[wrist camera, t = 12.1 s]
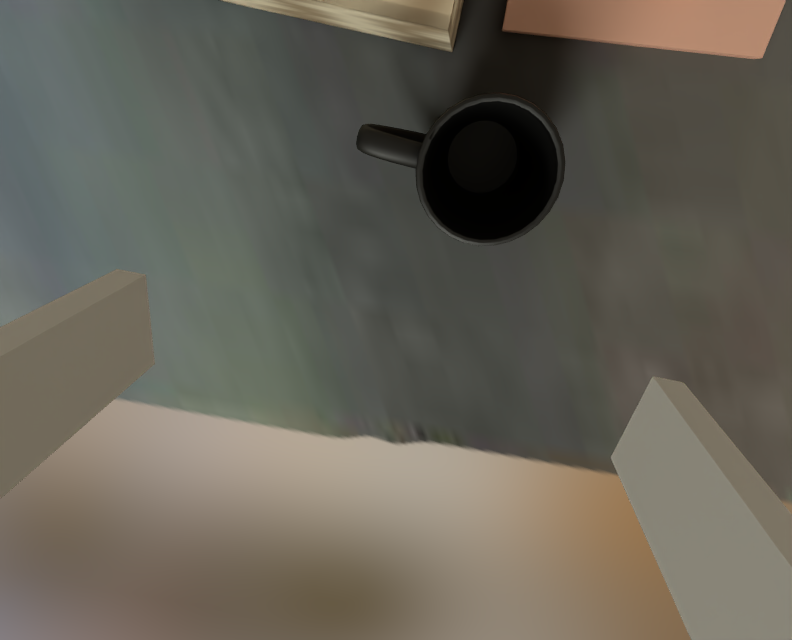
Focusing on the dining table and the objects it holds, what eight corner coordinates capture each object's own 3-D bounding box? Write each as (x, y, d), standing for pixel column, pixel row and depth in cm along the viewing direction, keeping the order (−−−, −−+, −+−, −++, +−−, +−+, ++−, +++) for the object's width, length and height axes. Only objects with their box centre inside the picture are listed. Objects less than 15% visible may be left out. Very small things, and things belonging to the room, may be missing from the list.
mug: (396, 64, 31) (371, 49, 23) (558, 115, 31) (593, 119, 23) (368, 180, 35) (337, 204, 26) (513, 225, 35) (529, 264, 26)
